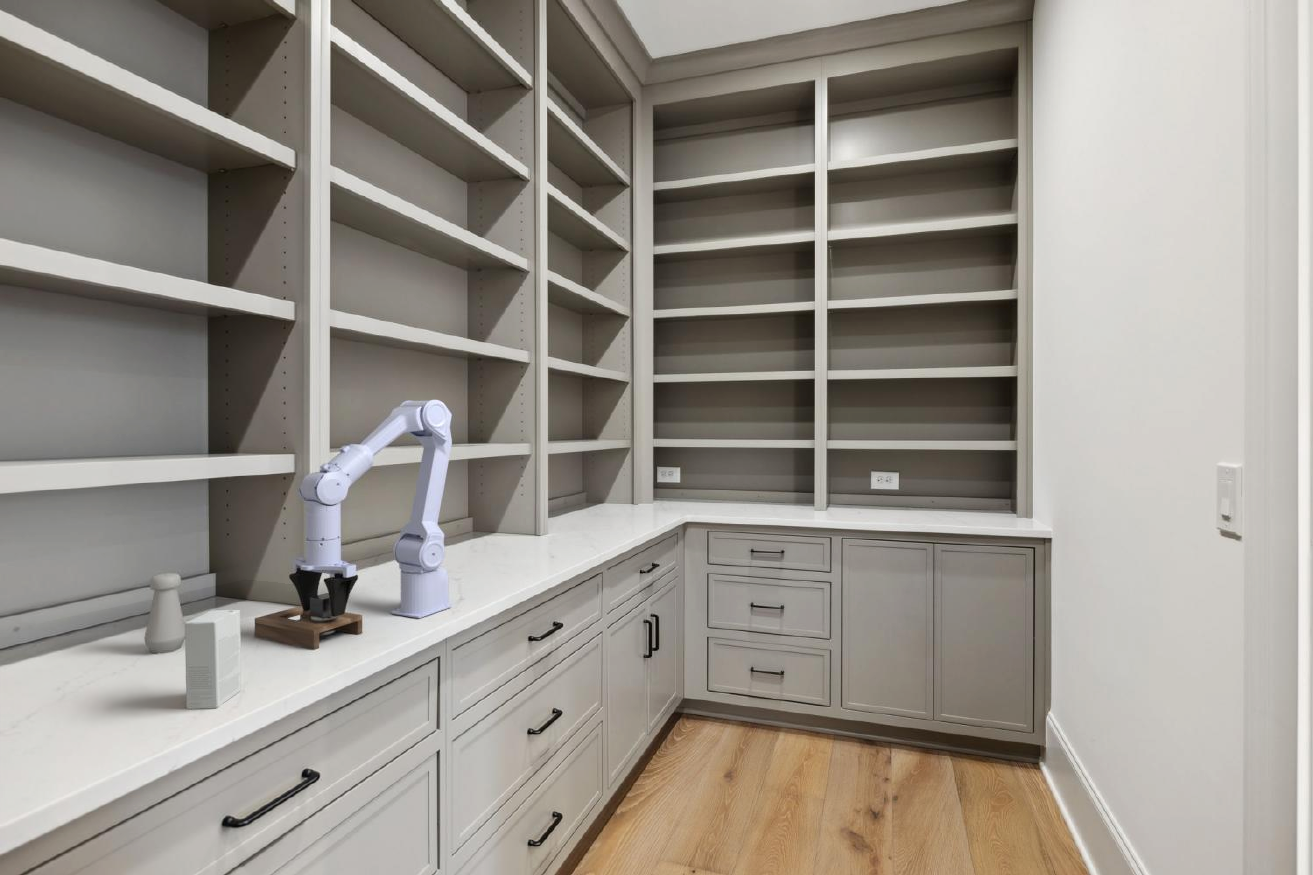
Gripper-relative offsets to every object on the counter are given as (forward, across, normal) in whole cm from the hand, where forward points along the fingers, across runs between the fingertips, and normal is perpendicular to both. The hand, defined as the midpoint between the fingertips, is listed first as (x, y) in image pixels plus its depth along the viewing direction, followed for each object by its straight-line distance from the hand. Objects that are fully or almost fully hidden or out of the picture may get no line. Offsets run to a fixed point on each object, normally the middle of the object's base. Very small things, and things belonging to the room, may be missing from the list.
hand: (323, 612), depth 118 cm
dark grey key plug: (+4, 0, 0) cm, 4 cm away
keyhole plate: (+5, -3, 0) cm, 6 cm away
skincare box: (+5, +10, -25) cm, 27 cm away
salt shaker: (+5, -19, -16) cm, 25 cm away
